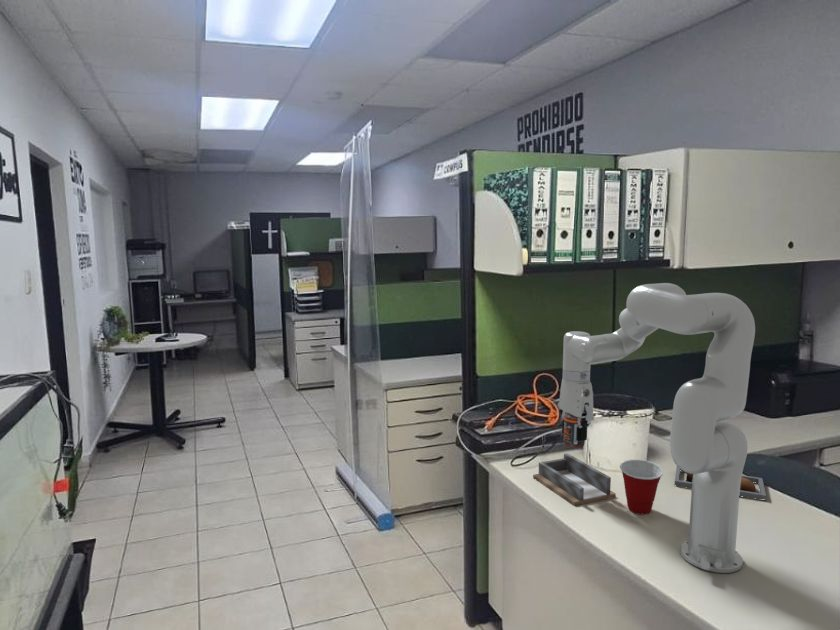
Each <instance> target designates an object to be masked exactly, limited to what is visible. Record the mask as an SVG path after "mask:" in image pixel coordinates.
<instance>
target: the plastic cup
mask: <svg viewBox="0 0 840 630" xmlns="http://www.w3.org/2000/svg"><path fill="white" fill-rule="evenodd" d="M619 469H620V470H621V474H622V478H623V483H624V490H625V491H624V492H625V497H626V506H627V509H628V510H629V511H630V512H631V513H633V514H638V515H649V514H650V513H652V509H653V505H654V502H655V498H656V495H657V490H658V486H659V483H660V480H661V478H662V476H663V475H664V469H663V467H662V466H660V465H659V464H657V463H655V462H652V461H650V460H646V459H645V460H644V459H637V458H636V459H628V460H623V461H622V462H621V463H620V465H619Z"/></svg>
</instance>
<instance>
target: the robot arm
mask: <svg viewBox="0 0 840 630" xmlns="http://www.w3.org/2000/svg"><path fill="white" fill-rule="evenodd" d="M625 304H626V308H624V309H622V311H620V314H619V317H618V322H619V325H620V328H619V329H617V330H615V331H614V332H611V333H603V334H597V335H590V333H589V332H585V331H578V330H577V331H576V330H575V331H573V330H572V331H568V332H566V333H564V336H563V349H562V350H563V351H562V352H563V353H562V379H561V385H560V389H559V392H560V393H559V401H558V403H557V408H558V409H559V413H560V415H561V416H560V418H561V420H562V421H561V423H562V424H561V425H562V427H561V433H562V434H563V435H564V416H565V414H566V413H569V414H571V415H573V416H575V417H577V422H578V427H577V435H576V440H577V441H584V440H585V441H587V440H588V428H589V427H590V425H591V423H592V422H593V421H594V420H595V416H594V394H593V393H594V392H593V385H592V382H591V365H597V364H603V363H608V362H614V361H615V362H616V361H619V360H622V359H624V358H626V357H628V356H629V355H631V354H632V353H634V352H635V351H637V350H638V349H640V347H642V346H643V344H644V342H645V340H646V338H647V337H648V336H649V335H651V334H653V333H654V332H655V331H657V330H659V329H661V330H664V331H668V332H671V333H675V334H677V335H678V334H679V335H687V336H689V335H692V336H693V335H698V334H699V335H700V334H704V333H705V334H706V333H711V332H712V333H714V336H713V339H712V340H711V342H710V343H709V346H708V348H707V351H706V355H705V366H704V371H703V374H702V377H700V378H694V379H691V380H688V381H687V382H685V383H683V384H682V385H681V386H680V387H679V389H678V390H677V392H676V394H675V397H674V400H673V406H672V415H671V426H670V435H669V437H670V438H669V448H670V454H671V458H672V461H673V462H674V463H675V466H676V467H677V466H678V467H679V468H680V469H681V470H683V471H684V472H683V473H686V472H687V473H690V474H693V479H692V489H691V494H690V495H691V496H690V509H689V510H690V511H689V526H688V540H686V541H684V542H683V543H681V545H680V554H681V557H682V558H683V559H684V560H685V561H686V562H688V563H689V564H691V565H692V566H695V567H697V568H699V569H702V570H703V571H708V572H713V573H718V574H729V573H735V572H737V571H739V570H741V569H742V567H743V564H744V563H743V557H742V555H741V554H740V553H739V552H738V551H736V548H737V533H738V520H739V518H738V517H739V504H740V497H739V496H740V484H741V477H742V475H743V471H744V467H745V463H746V460H747V457H748V456H747V455H748V449H749V448H748V441H747V437H746V435H745V434H744V431H743V430H742V429H741V428H740V427H739V426H737V425H736V424H735V423H731V422H728V421H725V420H729V419H732V418H735V417H737V416H739V415H740V414H742V413H743V411H744V410H745V408H746V404H747V397H748V389H749V382H750V381H749V379H750V371H751V359H752V352H753V349H754V348H753V347H754V342H755V335H756V325H755V324H756V323H755V318H754V315H753V312H752V311H751V309H750V308H749V307H748V305H747V304H746V303H745V302H743V300H742V299H740V298H738V297H736V296H735V295H732V294H729V293H724V292H708V293H707V292H706V293H698V294H686V292H685V290H684V289H683V288H681V286H679V285H678V284H674V283H672V282H671V283H670V282H661V283H660V282H659V283H646V284H641V285H637V286H636V287H634V288H633V289H632V290H631V291H630V293H629V294H628V295H627V298H626V303H625ZM582 414H583V416H582ZM581 418H584V421H583V422H582V421H581ZM687 473H686V474H687Z"/></svg>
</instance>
